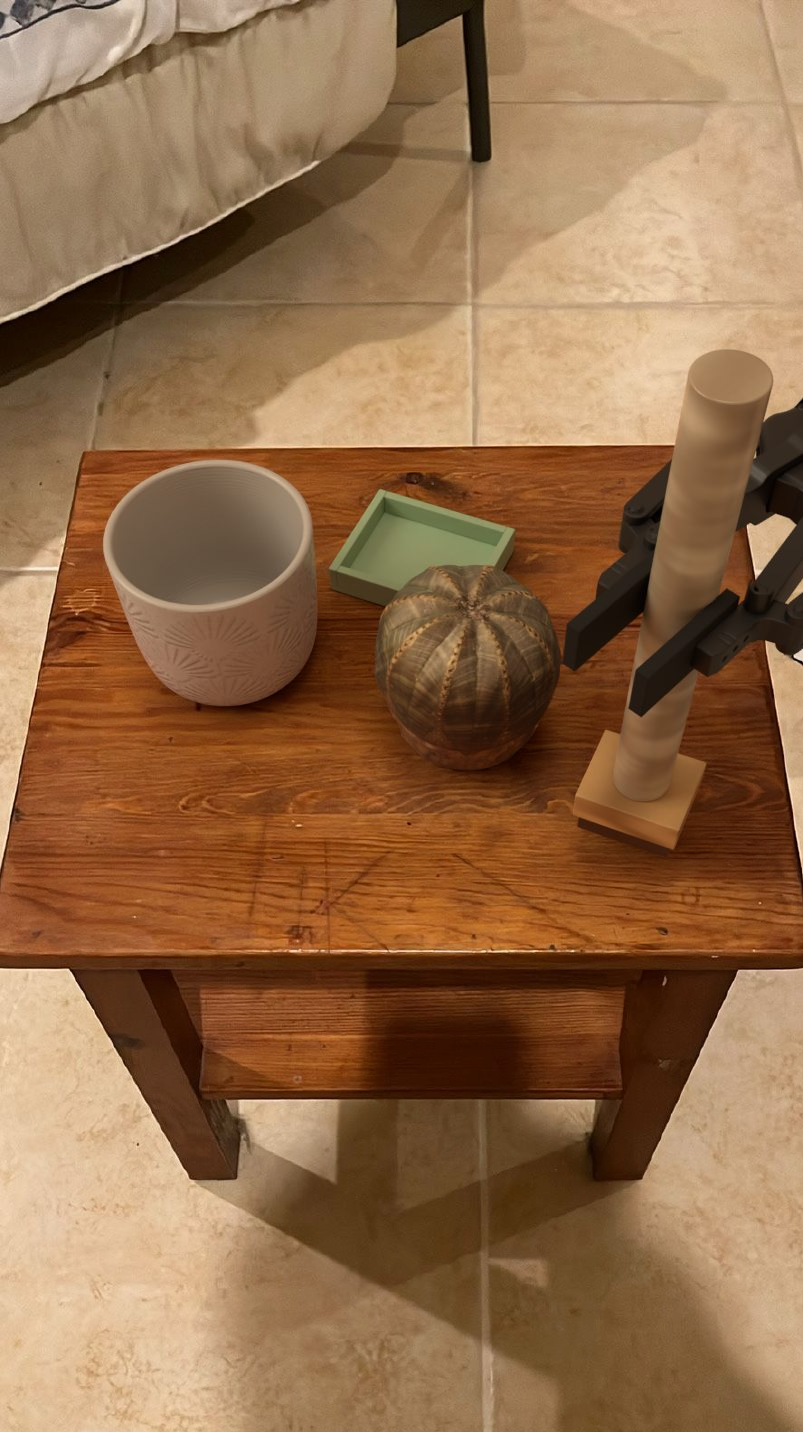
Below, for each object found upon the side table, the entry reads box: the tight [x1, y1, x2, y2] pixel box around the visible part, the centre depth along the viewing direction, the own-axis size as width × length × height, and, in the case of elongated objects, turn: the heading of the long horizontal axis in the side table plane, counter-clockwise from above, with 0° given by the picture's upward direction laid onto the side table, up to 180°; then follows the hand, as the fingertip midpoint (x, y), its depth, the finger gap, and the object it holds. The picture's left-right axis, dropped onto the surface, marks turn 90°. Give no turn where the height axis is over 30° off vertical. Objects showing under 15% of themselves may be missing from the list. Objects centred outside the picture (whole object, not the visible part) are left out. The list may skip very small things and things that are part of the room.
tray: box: [328, 488, 516, 607], centre depth 88 cm, size 10×8×2 cm
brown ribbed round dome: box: [373, 565, 562, 771], centre depth 76 cm, size 11×11×12 cm
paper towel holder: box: [572, 348, 774, 859], centre depth 62 cm, size 6×5×30 cm
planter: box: [102, 459, 319, 707], centre depth 80 cm, size 12×12×11 cm
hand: (605, 670), depth 58 cm, fingers closed on paper towel holder, 3 cm apart
